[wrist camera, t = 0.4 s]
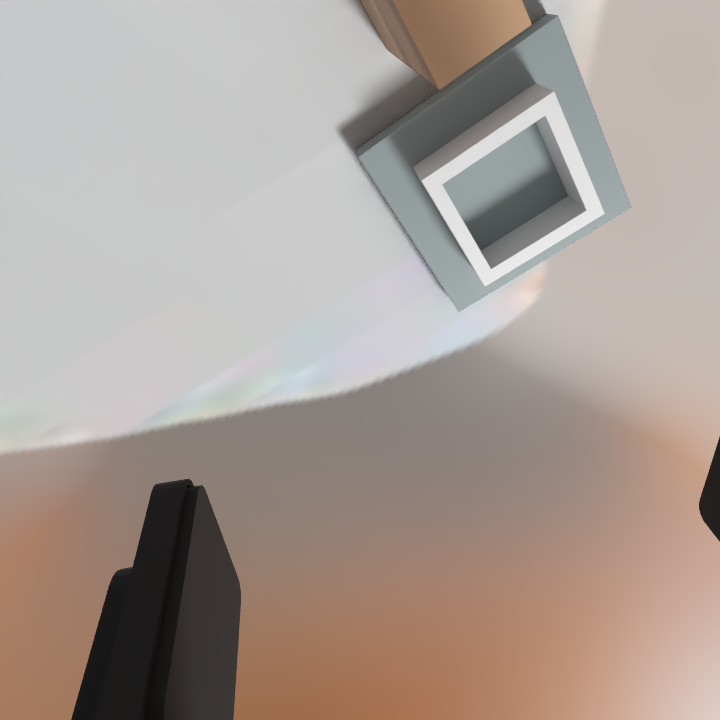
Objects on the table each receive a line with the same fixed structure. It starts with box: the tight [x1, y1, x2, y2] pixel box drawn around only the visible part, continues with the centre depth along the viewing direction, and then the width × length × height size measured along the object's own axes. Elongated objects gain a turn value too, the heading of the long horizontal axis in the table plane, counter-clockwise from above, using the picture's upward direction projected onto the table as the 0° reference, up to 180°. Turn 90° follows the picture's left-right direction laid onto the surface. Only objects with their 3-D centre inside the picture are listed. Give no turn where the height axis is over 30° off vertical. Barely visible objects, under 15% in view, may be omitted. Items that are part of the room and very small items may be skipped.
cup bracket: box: [355, 14, 631, 312], centre depth 33 cm, size 12×12×4 cm
